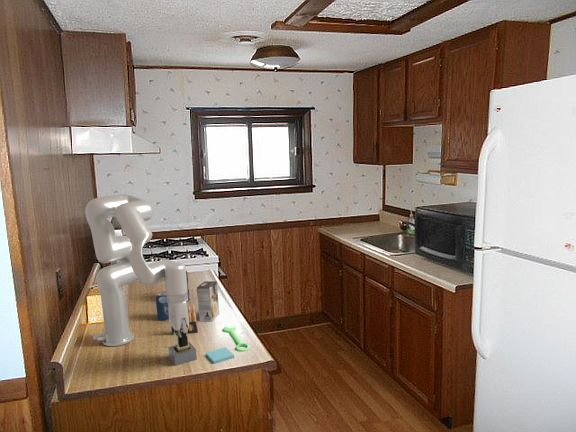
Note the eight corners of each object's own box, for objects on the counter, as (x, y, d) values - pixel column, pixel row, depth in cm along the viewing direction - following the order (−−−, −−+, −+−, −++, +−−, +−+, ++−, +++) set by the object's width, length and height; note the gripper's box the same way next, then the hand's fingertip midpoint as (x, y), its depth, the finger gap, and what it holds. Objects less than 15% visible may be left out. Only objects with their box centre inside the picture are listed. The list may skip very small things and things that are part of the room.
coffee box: (206, 313, 211) (204, 280, 209) (219, 314, 210) (217, 281, 207) (199, 321, 202) (196, 287, 200) (212, 321, 201) (209, 287, 198)
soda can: (168, 321, 204) (166, 296, 202) (154, 320, 205) (152, 295, 203) (175, 315, 210) (173, 291, 208) (162, 315, 212) (159, 290, 210)
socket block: (175, 365, 162) (174, 355, 161) (169, 357, 169) (168, 347, 168) (196, 359, 166) (195, 349, 165) (189, 351, 173) (188, 341, 172)
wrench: (234, 328, 195) (222, 330, 193) (233, 324, 195) (221, 326, 193) (251, 350, 172) (238, 353, 170) (251, 345, 172) (237, 348, 170)
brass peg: (179, 361, 165) (176, 336, 163) (175, 357, 168) (173, 332, 166) (189, 358, 167) (187, 333, 165) (186, 354, 170) (184, 329, 168)
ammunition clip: (171, 335, 188) (169, 308, 187) (172, 333, 190) (169, 306, 188) (197, 332, 190) (195, 305, 188) (197, 331, 192) (195, 304, 190)
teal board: (214, 363, 162) (213, 361, 162) (206, 355, 169) (205, 352, 169) (234, 357, 166) (234, 355, 166) (225, 349, 173) (225, 347, 173)
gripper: (160, 292, 169) (165, 338, 172) (174, 305, 154) (178, 355, 157) (180, 288, 172) (184, 333, 175) (195, 300, 158) (199, 349, 161)
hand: (181, 343), depth 166 cm, fingers closed on brass peg, 4 cm apart
